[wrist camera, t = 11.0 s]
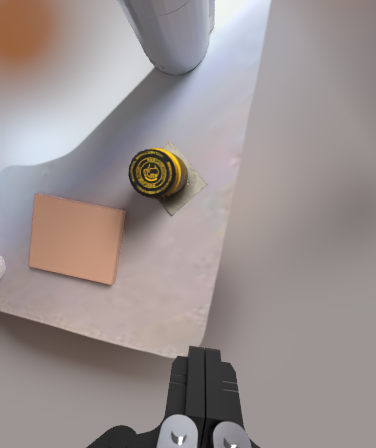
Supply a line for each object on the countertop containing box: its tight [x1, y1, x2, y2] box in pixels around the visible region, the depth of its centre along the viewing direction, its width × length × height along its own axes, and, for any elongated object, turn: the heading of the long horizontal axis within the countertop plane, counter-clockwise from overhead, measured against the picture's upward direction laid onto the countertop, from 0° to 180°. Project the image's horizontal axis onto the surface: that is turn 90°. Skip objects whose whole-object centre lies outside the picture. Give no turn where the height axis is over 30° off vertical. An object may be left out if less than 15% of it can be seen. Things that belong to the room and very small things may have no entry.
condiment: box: [129, 141, 207, 215], centre depth 35 cm, size 7×8×12 cm
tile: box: [29, 193, 126, 285], centre depth 43 cm, size 2×12×14 cm
